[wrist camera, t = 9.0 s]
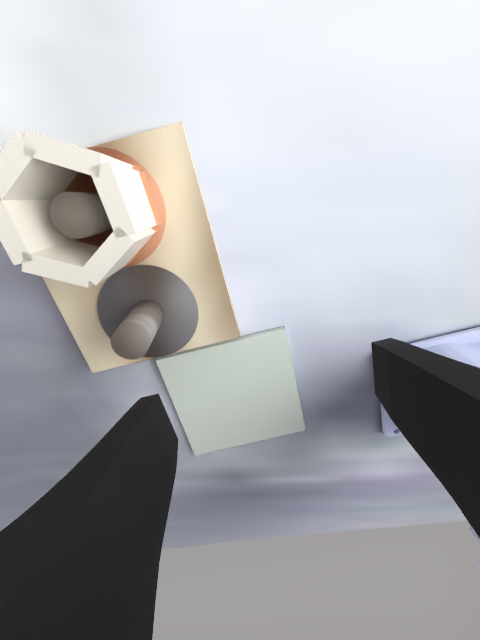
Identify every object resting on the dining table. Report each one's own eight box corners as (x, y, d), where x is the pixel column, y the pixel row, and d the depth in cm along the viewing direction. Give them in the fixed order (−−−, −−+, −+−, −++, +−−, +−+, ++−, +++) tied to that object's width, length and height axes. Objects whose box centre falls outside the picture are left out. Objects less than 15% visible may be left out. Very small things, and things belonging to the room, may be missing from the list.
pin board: (183, 126, 15) (166, 94, 10) (239, 330, 20) (244, 370, 15) (3, 177, 16) (-91, 167, 11) (98, 365, 20) (61, 414, 15)
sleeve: (180, 208, 16) (162, 212, 11) (114, 280, 17) (73, 311, 12) (100, 127, 14) (40, 91, 9) (35, 214, 15) (-47, 220, 11)
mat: (284, 326, 20) (285, 328, 19) (304, 426, 23) (305, 430, 23) (156, 357, 20) (155, 360, 20) (195, 451, 24) (194, 455, 23)
